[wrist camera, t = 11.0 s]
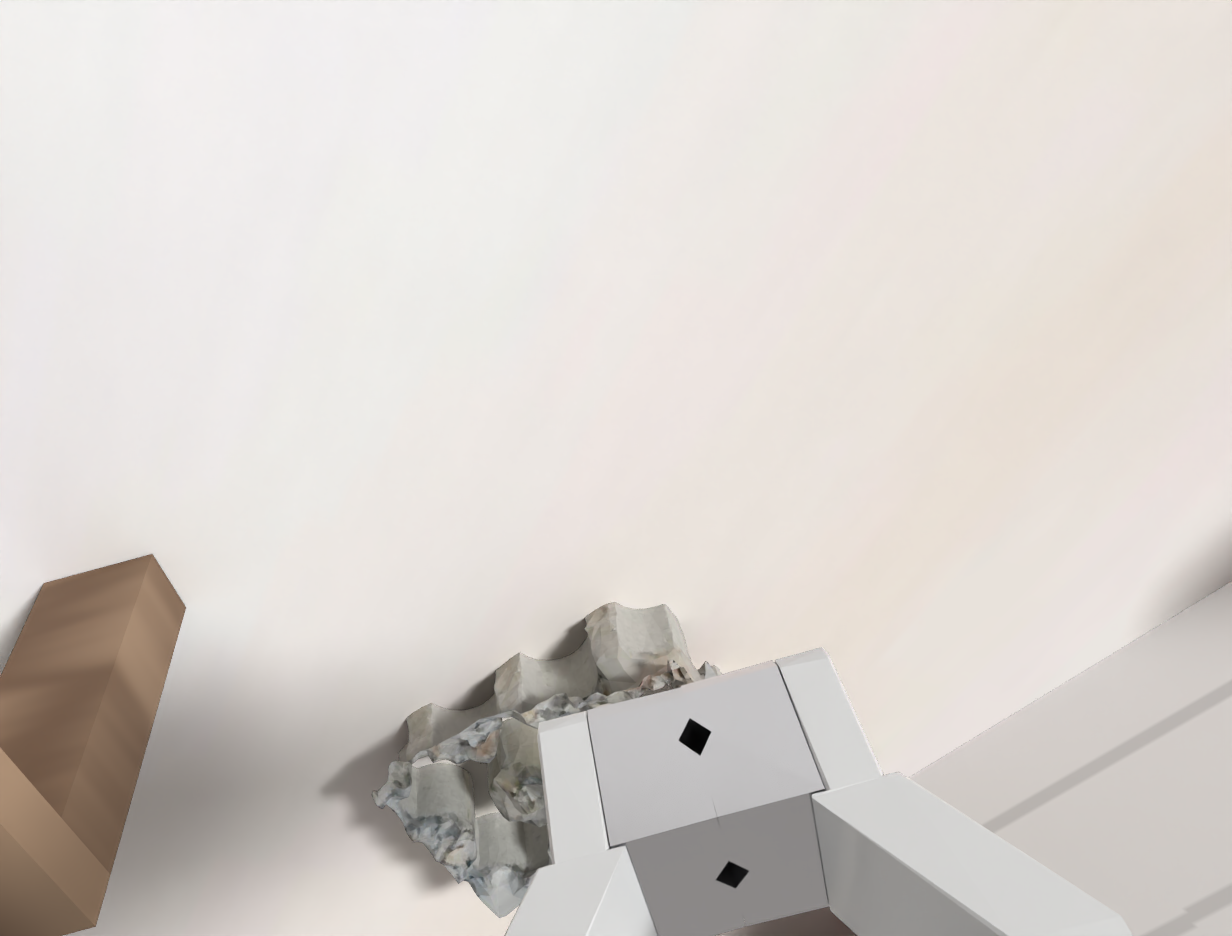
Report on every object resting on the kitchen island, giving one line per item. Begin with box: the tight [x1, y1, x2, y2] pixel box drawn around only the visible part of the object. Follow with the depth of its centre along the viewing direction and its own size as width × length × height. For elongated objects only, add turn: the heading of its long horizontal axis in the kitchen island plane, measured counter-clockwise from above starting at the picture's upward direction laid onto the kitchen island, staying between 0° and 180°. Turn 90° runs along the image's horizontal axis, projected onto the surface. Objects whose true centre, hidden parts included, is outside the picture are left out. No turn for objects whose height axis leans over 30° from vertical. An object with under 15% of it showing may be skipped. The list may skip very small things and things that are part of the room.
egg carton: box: [372, 602, 722, 918], centre depth 32 cm, size 11×8×4 cm
